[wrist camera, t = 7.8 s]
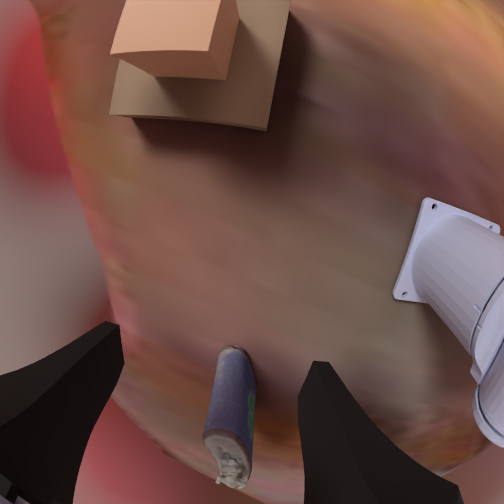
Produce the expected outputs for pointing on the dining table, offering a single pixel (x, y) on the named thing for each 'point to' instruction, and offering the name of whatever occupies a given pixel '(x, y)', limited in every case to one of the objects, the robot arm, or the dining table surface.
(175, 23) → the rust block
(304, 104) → the dining table surface
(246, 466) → the flask
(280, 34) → the base
